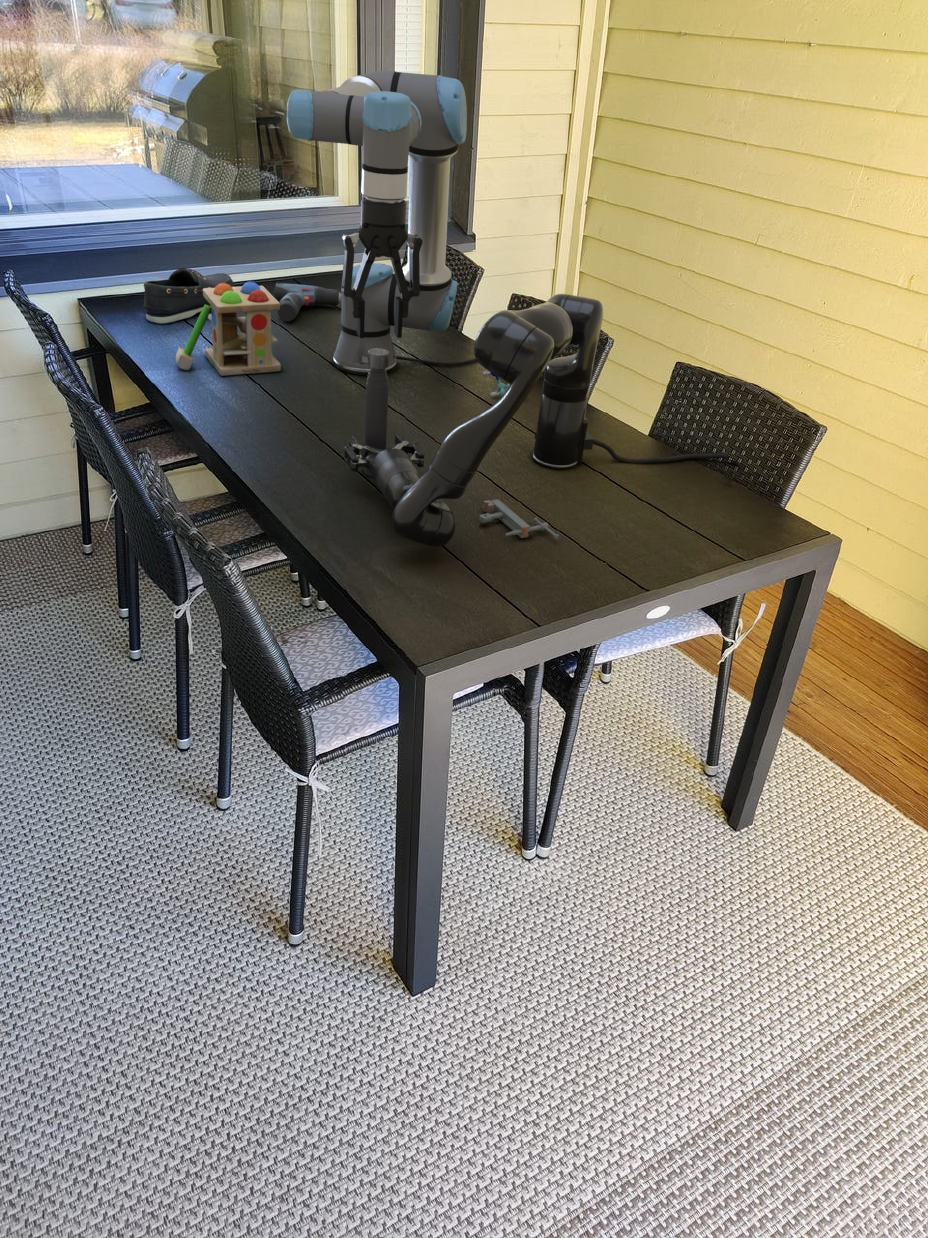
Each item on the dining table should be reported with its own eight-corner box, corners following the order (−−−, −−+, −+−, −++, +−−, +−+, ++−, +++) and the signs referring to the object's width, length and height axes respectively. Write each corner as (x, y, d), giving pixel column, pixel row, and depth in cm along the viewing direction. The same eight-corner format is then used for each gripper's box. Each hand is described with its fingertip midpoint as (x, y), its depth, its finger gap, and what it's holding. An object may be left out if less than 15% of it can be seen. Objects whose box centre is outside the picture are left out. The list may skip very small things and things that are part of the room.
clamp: (469, 503, 178) (515, 494, 182) (468, 513, 179) (514, 504, 184) (513, 542, 167) (561, 531, 172) (512, 553, 169) (559, 542, 173)
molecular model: (528, 399, 218) (514, 355, 217) (489, 413, 222) (475, 370, 221) (541, 397, 229) (527, 355, 228) (504, 410, 233) (491, 369, 231)
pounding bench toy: (183, 379, 220) (176, 299, 210) (169, 357, 231) (162, 280, 221) (282, 371, 230) (280, 294, 220) (264, 350, 240) (262, 276, 230)
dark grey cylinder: (387, 470, 192) (393, 352, 178) (380, 478, 188) (385, 359, 175) (368, 466, 192) (372, 348, 179) (360, 474, 189) (363, 355, 176)
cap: (391, 364, 180) (392, 350, 178) (384, 370, 176) (384, 356, 175) (372, 360, 180) (372, 346, 179) (364, 366, 177) (364, 352, 176)
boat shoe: (253, 302, 272) (251, 263, 267) (163, 325, 248) (159, 283, 243) (219, 293, 278) (216, 255, 272) (128, 316, 254) (123, 274, 248)
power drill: (335, 306, 256) (344, 285, 273) (264, 300, 255) (277, 279, 272) (335, 327, 259) (344, 304, 276) (264, 320, 258) (277, 299, 275)
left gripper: (433, 194, 168) (425, 327, 181) (322, 191, 163) (322, 329, 176) (445, 204, 162) (436, 341, 175) (330, 201, 157) (329, 343, 170)
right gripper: (436, 455, 175) (411, 419, 187) (358, 461, 170) (338, 423, 183) (434, 493, 179) (409, 455, 191) (357, 499, 175) (338, 460, 187)
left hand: (379, 335), depth 175 cm, fingers open, 6 cm apart
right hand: (375, 439), depth 187 cm, fingers open, 8 cm apart
